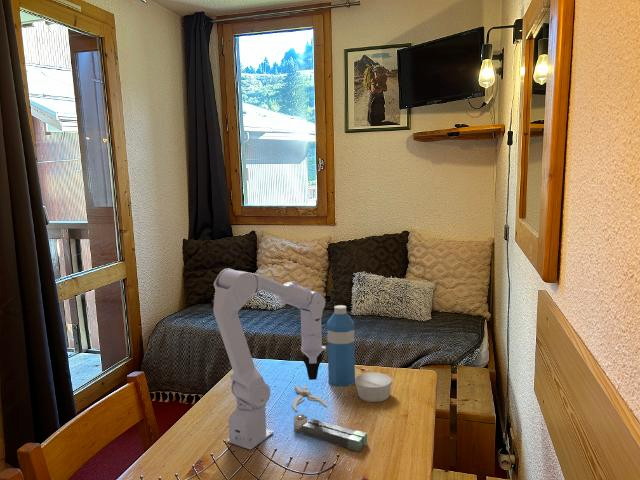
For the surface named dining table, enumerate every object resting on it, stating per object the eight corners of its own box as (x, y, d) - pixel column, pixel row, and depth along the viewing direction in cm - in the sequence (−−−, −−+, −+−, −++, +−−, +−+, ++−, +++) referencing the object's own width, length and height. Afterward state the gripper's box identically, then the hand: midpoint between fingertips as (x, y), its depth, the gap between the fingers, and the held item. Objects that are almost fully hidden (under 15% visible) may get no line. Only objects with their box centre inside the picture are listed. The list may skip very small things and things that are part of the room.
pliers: (294, 407, 136) (284, 386, 151) (294, 413, 137) (284, 391, 151) (327, 402, 139) (314, 382, 153) (328, 408, 139) (315, 387, 154)
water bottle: (348, 373, 163) (347, 302, 161) (360, 383, 155) (359, 308, 152) (323, 377, 160) (321, 305, 157) (334, 388, 151) (332, 311, 149)
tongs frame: (358, 452, 115) (358, 438, 114) (290, 431, 126) (289, 418, 125) (366, 444, 118) (366, 430, 118) (298, 425, 129) (298, 411, 129)
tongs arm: (363, 446, 117) (363, 436, 117) (308, 430, 126) (307, 420, 125) (367, 443, 119) (367, 433, 118) (312, 426, 127) (312, 417, 127)
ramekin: (353, 403, 141) (353, 386, 141) (357, 387, 152) (357, 371, 152) (391, 405, 139) (391, 388, 139) (392, 389, 150) (392, 373, 150)
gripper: (327, 340, 128) (328, 388, 129) (323, 324, 142) (325, 368, 144) (301, 341, 127) (302, 389, 129) (300, 325, 142) (301, 369, 143)
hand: (312, 378), depth 136 cm, fingers closed
